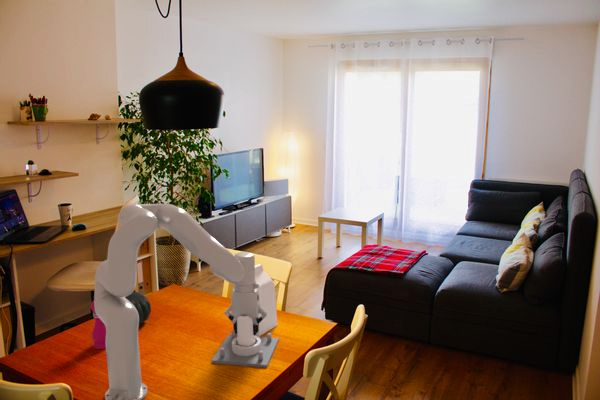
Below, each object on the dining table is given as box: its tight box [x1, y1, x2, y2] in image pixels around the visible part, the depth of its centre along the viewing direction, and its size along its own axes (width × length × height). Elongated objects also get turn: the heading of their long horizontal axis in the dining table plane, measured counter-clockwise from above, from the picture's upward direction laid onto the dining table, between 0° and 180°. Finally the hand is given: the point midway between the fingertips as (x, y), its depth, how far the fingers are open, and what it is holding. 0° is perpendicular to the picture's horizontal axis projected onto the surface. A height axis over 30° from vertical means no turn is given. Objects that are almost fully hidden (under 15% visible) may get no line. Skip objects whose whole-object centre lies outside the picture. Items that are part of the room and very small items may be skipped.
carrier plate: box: [211, 329, 280, 368], centre depth 185 cm, size 20×20×4 cm
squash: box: [125, 291, 152, 326], centre depth 208 cm, size 14×15×15 cm
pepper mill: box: [90, 300, 106, 350], centre depth 188 cm, size 7×7×20 cm
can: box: [236, 315, 256, 347], centre depth 184 cm, size 6×6×12 cm
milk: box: [255, 263, 278, 337], centre depth 202 cm, size 12×12×26 cm
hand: (246, 332), depth 184 cm, fingers closed on can, 6 cm apart
